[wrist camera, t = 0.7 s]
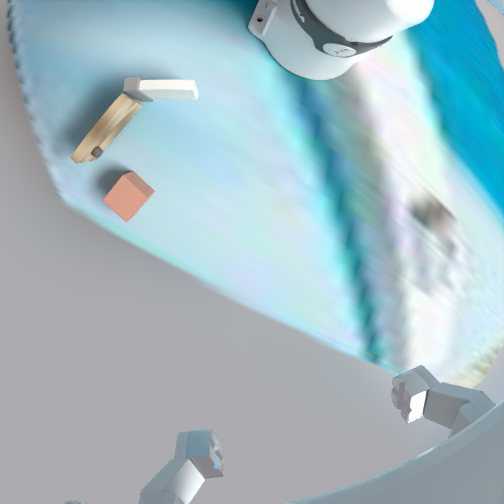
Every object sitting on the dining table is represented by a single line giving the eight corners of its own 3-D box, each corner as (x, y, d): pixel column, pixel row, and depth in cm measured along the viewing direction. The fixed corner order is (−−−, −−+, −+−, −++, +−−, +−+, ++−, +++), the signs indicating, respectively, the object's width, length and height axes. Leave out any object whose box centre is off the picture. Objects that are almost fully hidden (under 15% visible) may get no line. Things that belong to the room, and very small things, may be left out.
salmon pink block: (114, 193, 38) (102, 200, 33) (133, 171, 37) (122, 174, 33) (135, 213, 39) (126, 222, 35) (155, 191, 39) (147, 197, 34)
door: (137, 100, 33) (122, 92, 27) (147, 110, 34) (134, 103, 28) (92, 154, 35) (70, 157, 28) (101, 164, 36) (81, 168, 29)
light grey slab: (143, 90, 33) (125, 77, 25) (198, 91, 34) (193, 76, 26) (142, 101, 34) (123, 90, 25) (197, 102, 35) (192, 90, 27)
